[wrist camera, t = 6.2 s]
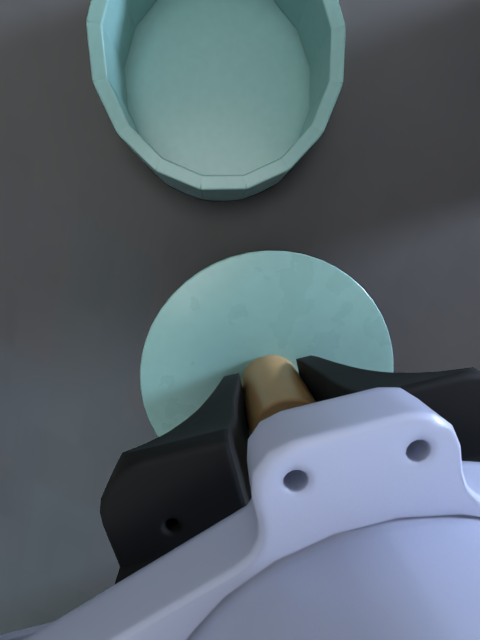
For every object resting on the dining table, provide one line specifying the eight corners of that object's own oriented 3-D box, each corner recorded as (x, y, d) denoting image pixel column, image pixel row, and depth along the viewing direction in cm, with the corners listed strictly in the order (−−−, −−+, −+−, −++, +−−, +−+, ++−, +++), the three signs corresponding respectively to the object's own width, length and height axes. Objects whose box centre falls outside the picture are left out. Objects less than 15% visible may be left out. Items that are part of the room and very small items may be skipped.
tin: (322, -26, 15) (352, -105, 12) (315, 199, 17) (339, 188, 14) (105, -32, 14) (69, -117, 11) (127, 202, 17) (103, 191, 13)
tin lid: (389, 245, 14) (486, 244, 9) (374, 465, 16) (443, 563, 11) (132, 255, 13) (79, 260, 8) (157, 481, 15) (128, 592, 11)
